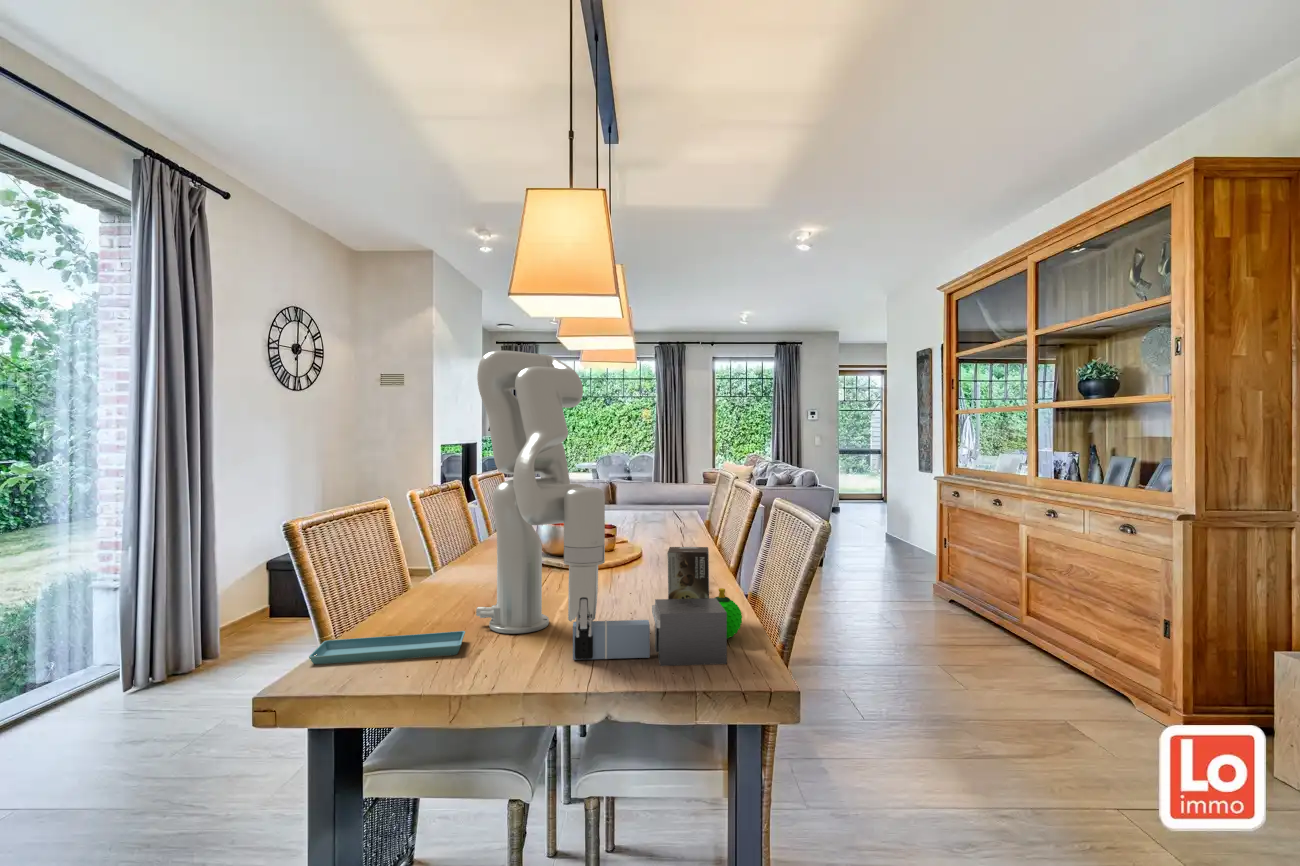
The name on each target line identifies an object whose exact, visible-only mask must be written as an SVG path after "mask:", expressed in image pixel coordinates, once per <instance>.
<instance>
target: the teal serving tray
mask: <svg viewBox="0 0 1300 866" xmlns="http://www.w3.org/2000/svg"><path fill="white" fill-rule="evenodd" d="M465 634H466V631H465V630H459V631H447V632H446V631H444V632H443V631H442V632H434V633H431V632H430V633H418V634H402V635H401V634H400V635H389V636H387V635H386V636H373V637H359V638H358V637H357V638H343V639H341V638H339V639H329V640H324V641H323V642H322V643H320V645H319V646H318V647H317V648H316V649H315V650H314V651H312V653H311V654H310V655H308V659H309V660H310V659H311V660H310V661H311V662H312V663H313V665H327V664H340V663H354V662H355V663H359V662H371V661H372V662H373V661H387V660H389V661H390V660H401V659H402V660H404V659H415V658H416V659H417V658H431V657H433V658H434V657H446V656H447V657H448V656H457V655H458V653H459V651H460V649H461V646H462V643H463V640H464V637H465ZM316 654H317V655H316ZM314 655H316V656H314Z"/></svg>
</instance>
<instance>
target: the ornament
mask: <svg viewBox="0 0 1300 866" xmlns="http://www.w3.org/2000/svg"><path fill="white" fill-rule="evenodd" d="M725 593H726V589H725V588H720V587H719V588H718V596H716V597H714V598H716V599H717V600H718V601H719V603H720V604H721V605H722V607H723V608H724V609H725V611H726V612H727V640H728V639H730V638H733V637H734V635H735V634H737V633H738V631H739V630H740V629H741V625H742V623H743V621H742V619H743V615H742V611H741V608H740V607H739V606H738V604H736V602H734V600H732V599H731V598H729V597H727V596H726V595H725Z"/></svg>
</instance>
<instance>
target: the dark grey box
mask: <svg viewBox="0 0 1300 866" xmlns="http://www.w3.org/2000/svg"><path fill="white" fill-rule="evenodd" d="M651 613H652V617H653V621H654V648H655V652H656V653H658V663H659V666H660V667H663V666H664V667H665V666H694V665H695V666H696V665H698V666H701V665H703V666H704V665H726V664H728V660H727V657H728V655H727V653H728V652H727V651H728V650H727V649H728V647H727V646H728V644H727V640H728V639H727V612H726V611H725V609H724V608H723V607H722V605H721V604H720V603H719V601H718V600H717V599H716V598H715V597H711V598H710V597H709V598H699V599H668V598H665V599H664V598H659V599H656V598H655V599H654V604H652V605H651Z"/></svg>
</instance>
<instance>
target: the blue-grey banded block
mask: <svg viewBox="0 0 1300 866" xmlns="http://www.w3.org/2000/svg"><path fill="white" fill-rule="evenodd" d="M572 622H573V623H572V660H574V661H575V660H579V661H580V659H576V658H575V636H576V621H572ZM579 625H580V623H579ZM587 625H589V623H587ZM650 626H651V625H650V622H649V619H631V620H629V619H625V620H593V621H592V622H591V636H593V657H592V658H591V659H590V660H609V659H614V660H615V659H638V658H639V659H641V658H642V659H643V658H645V659H646V658H651V657H650V656H651V654H650V653H651V651H650V649H651V646H650V645H651V641H650V640H651V639H650V638H651V637H650V636H651V635H650V634H651V633H650V632H651V629H650V628H651V627H650ZM588 633H589V631H588ZM588 636H589V635H588Z"/></svg>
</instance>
